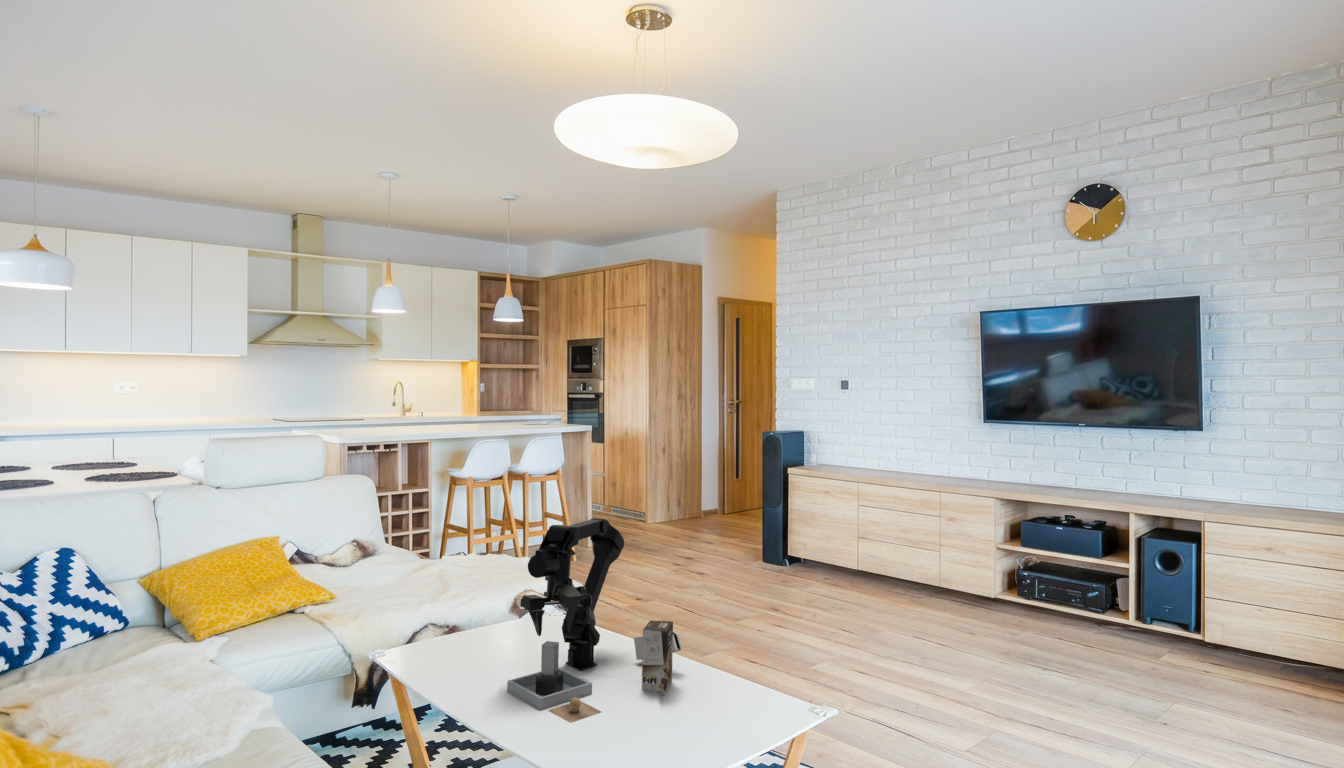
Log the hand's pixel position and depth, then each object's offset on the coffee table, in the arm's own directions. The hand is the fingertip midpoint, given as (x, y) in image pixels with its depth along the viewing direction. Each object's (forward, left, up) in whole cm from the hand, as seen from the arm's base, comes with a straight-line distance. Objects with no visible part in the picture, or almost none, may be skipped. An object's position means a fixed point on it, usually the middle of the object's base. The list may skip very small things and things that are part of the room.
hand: (554, 633), depth 202 cm
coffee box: (-17, +22, -12) cm, 30 cm away
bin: (+7, +8, -12) cm, 16 cm away
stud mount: (+9, +22, -12) cm, 26 cm away
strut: (+7, +8, -11) cm, 15 cm away
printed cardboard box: (-26, +5, -10) cm, 28 cm away
